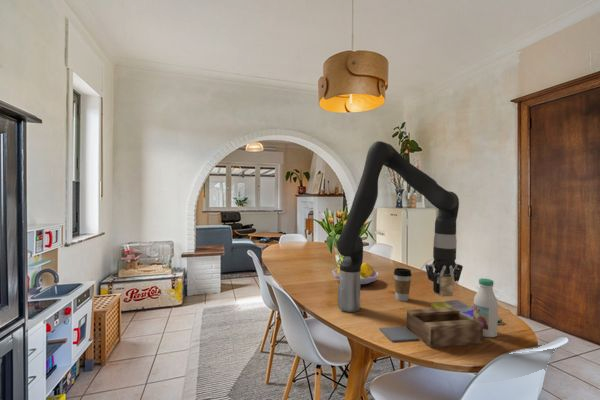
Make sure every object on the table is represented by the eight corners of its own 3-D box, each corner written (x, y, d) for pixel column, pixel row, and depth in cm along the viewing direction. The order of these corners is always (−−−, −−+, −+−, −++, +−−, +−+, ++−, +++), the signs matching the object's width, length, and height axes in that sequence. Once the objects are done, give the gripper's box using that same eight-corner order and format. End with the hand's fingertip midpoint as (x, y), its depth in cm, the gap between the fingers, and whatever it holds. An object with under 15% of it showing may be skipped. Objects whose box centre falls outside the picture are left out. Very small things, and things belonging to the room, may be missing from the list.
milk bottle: (488, 328, 115) (489, 277, 115) (502, 338, 108) (503, 282, 107) (468, 328, 115) (469, 276, 115) (480, 337, 107) (482, 282, 107)
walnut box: (430, 347, 100) (430, 326, 100) (406, 328, 115) (407, 310, 115) (482, 343, 103) (483, 323, 103) (453, 324, 118) (453, 307, 118)
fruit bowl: (381, 290, 162) (381, 269, 162) (330, 287, 166) (331, 266, 166) (376, 276, 189) (376, 258, 189) (333, 274, 194) (333, 256, 194)
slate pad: (391, 342, 103) (391, 340, 103) (379, 329, 113) (379, 327, 113) (418, 340, 105) (418, 338, 105) (403, 327, 115) (403, 326, 115)
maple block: (441, 296, 106) (442, 277, 106) (433, 292, 111) (434, 273, 111) (452, 296, 107) (453, 276, 107) (444, 292, 112) (445, 273, 111)
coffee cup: (399, 303, 142) (400, 271, 142) (389, 297, 150) (390, 267, 150) (414, 301, 144) (415, 270, 144) (404, 295, 153) (404, 266, 152)
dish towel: (468, 329, 115) (468, 322, 115) (428, 306, 139) (428, 300, 139) (505, 325, 119) (505, 319, 119) (460, 304, 143) (460, 298, 143)
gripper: (433, 248, 104) (431, 296, 104) (469, 247, 106) (468, 295, 107) (420, 244, 111) (419, 290, 111) (455, 244, 114) (453, 288, 114)
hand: (443, 292), depth 109 cm, fingers closed on maple block, 4 cm apart
